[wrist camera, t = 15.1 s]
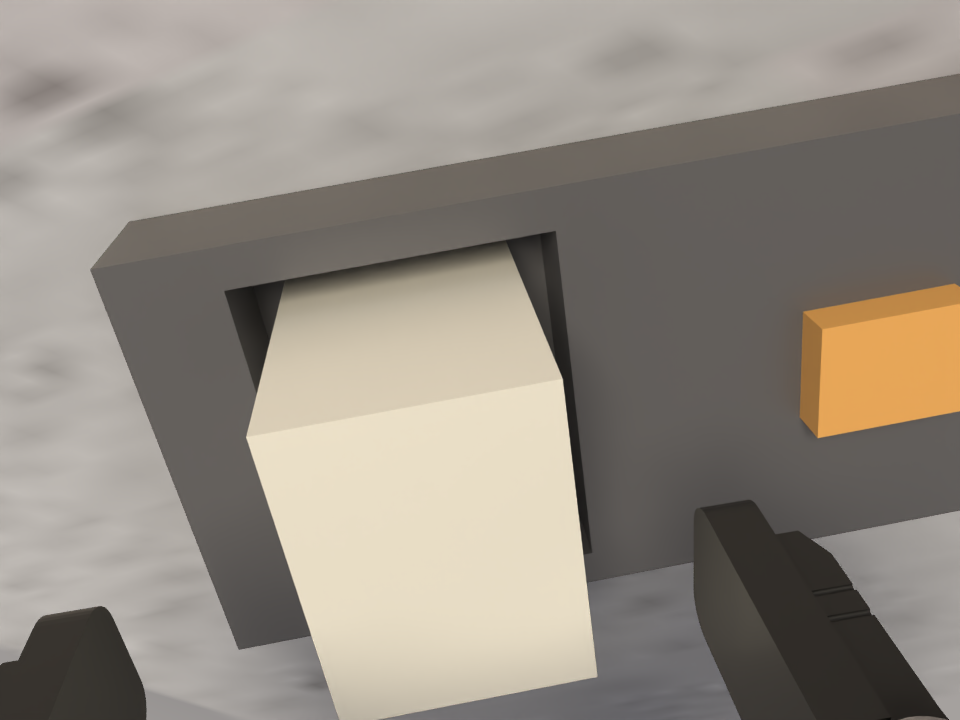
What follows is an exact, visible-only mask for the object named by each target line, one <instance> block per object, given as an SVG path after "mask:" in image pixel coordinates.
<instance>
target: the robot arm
mask: <svg viewBox="0 0 960 720" xmlns="http://www.w3.org/2000/svg"><path fill="white" fill-rule="evenodd" d="M694 599H695V605H696V611H697V615H698V619H699V623H700V626H701V629H702V632H703V635H704V637H705V639H706V642H707V644H708V646H709V648H710V651H711V653H712V655H713V657H714V660H715V662H716V664H717V666H718V668H719V671H720V673H721V675H722V677H723V680H724V682H725V684H726V686H727V689H728V691H729V693H730V695H731V697H732V700H733V702H734V704H735V706H736V709H737V711H738V713H739V715H740V718H741V720H949V719H948V718H947V717H946V716H945V714H944V713H943V712H942V711H941V710H940V708H939V707H938V705H937V704H936V702H935V701H934V700H933V698H932V697H931V695H930V694H929V692H928V691H927V690H926V688H925V687H924V685H923V684H922V682H921V681H920V680H919V678H918V677H917V675H916V674H915V672H914V671H913V670H912V668H911V667H910V665H909V664H908V662H907V661H906V660H905V658H904V657H903V655H902V654H901V652H900V651H899V650H898V648H897V647H896V645H895V644H894V642H893V641H892V640H891V638H890V637H889V635H888V634H887V632H886V631H885V630H884V628H883V627H882V625H881V624H880V622H879V621H878V620H877V618H876V617H875V615H871V613H870V608H869V607H868V605H867V604H866V602H865V601H864V600H863V598H862V597H861V595H860V594H859V592H858V591H857V590H854V589H853V586H852V582H851V581H850V580H849V578H848V577H847V575H846V574H845V572H844V571H843V570H842V568H841V567H840V565H839V564H838V562H837V561H836V560H835V558H834V557H833V555H832V554H831V553H830V552H828V551H827V550H825V549H824V548H822V547H821V546H820V545H818V544H817V543H815V542H814V541H813V540H811V539H810V538H808V537H807V536H805V535H804V534H803V533H801V532H800V531H792V532H786V533H780V534H775V533H774V531H773V530H772V528H771V527H770V525H769V523H768V522H767V520H766V519H765V517H764V515H763V514H762V512H761V511H760V509H759V508H758V506H757V505H756V504H755V503H754V502H753V501H752V500H749V499H748V500H742V501H736V502H731V503H725V504H719V505H713V506H707V507H701V508H697V509H696V510H695V513H694ZM0 720H146V698H145V692H144V688H143V684H142V682H141V679H140V677H139V675H138V673H137V670H136V668H135V666H134V664H133V662H132V659H131V657H130V655H129V653H128V650H127V648H126V646H125V644H124V642H123V639H122V637H121V635H120V633H119V631H118V628H117V626H116V624H115V622H114V619H113V617H112V615H111V614H110V612H109V611H108V610H107V609H106V608H105V607H102V606H98V607H92V608H86V609H80V610H75V611H69V612H63V613H57V614H51V615H45V616H43V617H41V618H40V619H39V620H38V621H37V623H36V624H35V626H34V628H33V630H32V632H31V634H30V636H29V639H28V641H27V643H26V645H25V647H24V649H23V651H22V653H21V656H20V658H19V660H18V661H12V662H6V663H2V664H1V665H0Z"/></svg>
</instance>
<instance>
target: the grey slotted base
mask: <svg viewBox="0 0 960 720" xmlns="http://www.w3.org/2000/svg"><path fill="white" fill-rule="evenodd" d="M502 240H506V243H507V245H508V247H509V250H510V252H511V255H512V257H513V260H514V262H515V264H516V267H517V269H518V272H519V274H520V277H521V279H522V281H523V284H524V286H525V289H526V291H527V294H528V296H529V298H530V301H531V303H532V306H533V308H534V311H535V313H536V315H537V318H538V320H539V323H540V325H541V328H542V330H543V332H544V335H545V337H546V340H547V342H548V345H549V347H550V349H551V352H552V354H553V357H554V359H555V362H556V364H557V366H558V369H559V371H560V374H561V376H562V379H563V386H564V395H565V403H566V412H567V420H568V429H569V438H570V446H571V455H572V463H573V472H574V480H575V489H576V497H577V506H578V514H579V523H580V531H581V540H582V549H583V557H584V566H585V574H586V583H587V582H592V581H597V580H602V579H607V578H613V577H618V576H623V575H628V574H633V573H638V572H644V571H649V570H654V569H659V568H664V567H669V566H675V565H680V564H685V563H690V562H694V513H695V510H696V509H697V508H701V507H707V506H713V505H719V504H725V503H731V502H736V501H742V500H748V499H749V500H752V501H753V502H754V503H755V504H756V505H757V506H758V508H759V509H760V511H761V512H762V514H763V515H764V517H765V519H766V520H767V522H768V523H769V525H770V527H771V528H772V530H773V531H774V533H775V534H780V533H786V532H792V531H800V532H801V533H803V534H804V535H805V536H807V537H808V538H810V539H814V538H820V537H825V536H830V535H835V534H840V533H846V532H851V531H856V530H861V529H866V528H871V527H877V526H882V525H887V524H892V523H897V522H902V521H908V520H913V519H918V518H923V517H928V516H934V515H939V514H944V513H949V512H954V511H959V510H960V74H956V75H951V76H945V77H939V78H934V79H928V80H923V81H917V82H911V83H906V84H900V85H895V86H889V87H883V88H878V89H872V90H866V91H861V92H855V93H850V94H844V95H838V96H833V97H827V98H822V99H816V100H810V101H805V102H799V103H793V104H788V105H782V106H777V107H771V108H765V109H760V110H754V111H749V112H743V113H737V114H732V115H726V116H721V117H715V118H709V119H704V120H698V121H692V122H687V123H681V124H676V125H670V126H664V127H659V128H653V129H648V130H642V131H636V132H631V133H625V134H619V135H614V136H608V137H603V138H597V139H591V140H586V141H580V142H575V143H569V144H563V145H558V146H552V147H547V148H541V149H535V150H530V151H524V152H518V153H513V154H507V155H502V156H496V157H490V158H485V159H479V160H474V161H468V162H462V163H457V164H451V165H445V166H440V167H434V168H429V169H423V170H417V171H412V172H406V173H401V174H395V175H389V176H384V177H378V178H373V179H367V180H361V181H356V182H350V183H344V184H339V185H333V186H328V187H322V188H316V189H311V190H305V191H300V192H294V193H288V194H283V195H277V196H271V197H266V198H260V199H255V200H249V201H243V202H238V203H232V204H227V205H221V206H215V207H210V208H204V209H199V210H193V211H187V212H182V213H176V214H170V215H165V216H159V217H154V218H148V219H142V220H137V221H131V222H129V223H128V224H127V225H126V226H125V228H124V229H123V230H122V231H121V233H120V234H119V235H118V236H117V237H116V239H115V240H114V241H113V242H112V244H111V245H110V246H109V247H108V248H107V250H106V251H105V252H104V253H103V255H102V256H101V257H100V258H99V260H98V261H97V262H96V263H95V264H94V266H93V267H92V268H91V269H90V270H91V273H92V275H93V278H94V280H95V283H96V286H97V288H98V291H99V293H100V296H101V298H102V301H103V303H104V306H105V309H106V311H107V314H108V316H109V319H110V321H111V324H112V326H113V329H114V332H115V334H116V337H117V339H118V342H119V344H120V347H121V349H122V352H123V355H124V357H125V360H126V362H127V365H128V367H129V370H130V373H131V375H132V378H133V380H134V383H135V385H136V388H137V390H138V393H139V396H140V398H141V401H142V403H143V406H144V408H145V411H146V413H147V416H148V419H149V421H150V424H151V426H152V429H153V431H154V434H155V436H156V439H157V442H158V444H159V447H160V449H161V452H162V454H163V457H164V459H165V462H166V465H167V467H168V470H169V472H170V475H171V477H172V480H173V483H174V485H175V488H176V490H177V493H178V495H179V498H180V500H181V503H182V506H183V508H184V511H185V513H186V516H187V518H188V521H189V523H190V526H191V529H192V531H193V534H194V536H195V539H196V541H197V544H198V546H199V549H200V552H201V554H202V557H203V559H204V562H205V564H206V567H207V569H208V572H209V575H210V577H211V580H212V582H213V585H214V587H215V590H216V592H217V595H218V598H219V600H220V603H221V605H222V608H223V610H224V613H225V616H226V618H227V621H228V623H229V626H230V628H231V631H232V633H233V636H234V639H235V641H236V644H237V646H238V649H239V650H240V649H245V648H250V647H255V646H261V645H266V644H271V643H276V642H281V641H286V640H292V639H297V638H302V637H307V636H311V633H310V630H309V627H308V624H307V621H306V618H305V615H304V611H303V608H302V605H301V602H300V599H299V596H298V593H297V590H296V587H295V584H294V581H293V578H292V575H291V572H290V569H289V566H288V563H287V560H286V557H285V554H284V551H283V548H282V545H281V542H280V539H279V536H278V533H277V529H276V526H275V523H274V520H273V517H272V514H271V511H270V508H269V505H268V502H267V499H266V496H265V493H264V490H263V487H262V484H261V481H260V478H259V475H258V472H257V469H256V466H255V463H254V460H253V457H252V454H251V450H250V447H249V444H248V441H247V438H246V436H247V432H248V428H249V424H250V420H251V416H252V412H253V408H254V404H255V400H256V396H257V391H258V387H259V383H260V379H261V375H262V371H263V367H264V363H265V359H266V355H267V351H268V347H269V343H270V339H271V335H272V331H273V327H274V323H275V319H276V315H277V311H278V307H279V303H280V299H281V295H282V291H283V287H284V283H285V280H287V279H292V278H298V277H303V276H309V275H314V274H320V273H326V272H331V271H337V270H342V269H348V268H353V267H359V266H364V265H370V264H375V263H381V262H386V261H392V260H397V259H403V258H408V257H414V256H419V255H425V254H430V253H436V252H442V251H447V250H453V249H458V248H464V247H469V246H475V245H480V244H486V243H491V242H497V241H502Z"/></svg>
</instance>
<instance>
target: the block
mask: <svg viewBox="0 0 960 720" xmlns="http://www.w3.org/2000/svg"><path fill="white" fill-rule="evenodd" d="M246 438H247V441H248V444H249V447H250V450H251V454H252V457H253V460H254V463H255V466H256V469H257V472H258V475H259V478H260V481H261V484H262V487H263V490H264V493H265V496H266V499H267V502H268V505H269V508H270V511H271V514H272V517H273V520H274V523H275V526H276V529H277V533H278V536H279V539H280V542H281V545H282V548H283V551H284V554H285V557H286V560H287V563H288V566H289V569H290V572H291V575H292V578H293V581H294V584H295V587H296V590H297V593H298V596H299V599H300V602H301V605H302V608H303V611H304V615H305V618H306V621H307V624H308V627H309V630H310V633H311V636H312V639H313V642H314V645H315V648H316V651H317V654H318V657H319V660H320V663H321V666H322V669H323V672H324V675H325V678H326V681H327V684H328V687H329V690H330V694H331V697H332V700H333V703H334V706H335V709H336V712H337V715H338V718H339V720H379V719H384V718H389V717H395V716H400V715H405V714H410V713H415V712H420V711H425V710H430V709H436V708H441V707H446V706H451V705H456V704H461V703H466V702H471V701H477V700H482V699H487V698H492V697H497V696H502V695H507V694H513V693H518V692H523V691H528V690H533V689H538V688H543V687H548V686H554V685H559V684H564V683H569V682H574V681H579V680H584V679H589V678H595V677H597V668H596V660H595V651H594V643H593V634H592V625H591V617H590V608H589V600H588V591H587V583H586V574H585V566H584V557H583V549H582V540H581V531H580V523H579V514H578V506H577V497H576V489H575V480H574V472H573V463H572V455H571V446H570V438H569V429H568V420H567V412H566V403H565V395H564V386H563V379H562V376H561V374H560V371H559V369H558V366H557V364H556V362H555V359H554V357H553V354H552V352H551V349H550V347H549V345H548V342H547V340H546V337H545V335H544V332H543V330H542V328H541V325H540V323H539V320H538V318H537V315H536V313H535V311H534V308H533V306H532V303H531V301H530V298H529V296H528V294H527V291H526V289H525V286H524V284H523V281H522V279H521V277H520V274H519V272H518V269H517V267H516V264H515V262H514V260H513V257H512V255H511V252H510V250H509V247H508V245H507V243H506V240H502V241H497V242H491V243H486V244H480V245H475V246H469V247H464V248H458V249H453V250H447V251H442V252H436V253H430V254H425V255H419V256H414V257H408V258H403V259H397V260H392V261H386V262H381V263H375V264H370V265H364V266H359V267H353V268H348V269H342V270H337V271H331V272H326V273H320V274H314V275H309V276H303V277H298V278H292V279H287V280H285V283H284V287H283V291H282V295H281V299H280V303H279V307H278V311H277V315H276V319H275V323H274V327H273V331H272V335H271V339H270V343H269V347H268V351H267V355H266V359H265V363H264V367H263V371H262V375H261V379H260V383H259V387H258V391H257V396H256V400H255V404H254V408H253V412H252V416H251V420H250V424H249V428H248V432H247V436H246Z"/></svg>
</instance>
